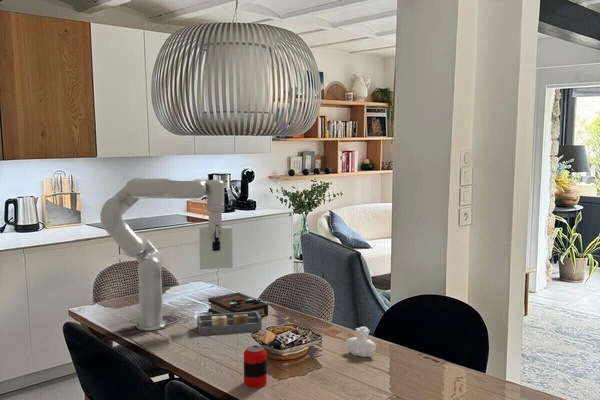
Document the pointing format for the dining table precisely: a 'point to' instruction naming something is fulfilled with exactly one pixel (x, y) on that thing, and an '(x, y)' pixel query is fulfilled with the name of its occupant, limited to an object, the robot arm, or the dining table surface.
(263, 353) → the soda can
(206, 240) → the sage board
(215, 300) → the decorative book
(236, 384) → the dining table surface
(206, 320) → the rack
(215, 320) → the birch offcut
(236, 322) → the tan wooden block
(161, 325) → the robot arm
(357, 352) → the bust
